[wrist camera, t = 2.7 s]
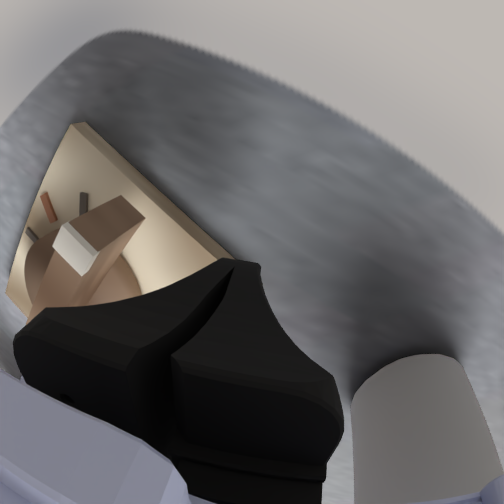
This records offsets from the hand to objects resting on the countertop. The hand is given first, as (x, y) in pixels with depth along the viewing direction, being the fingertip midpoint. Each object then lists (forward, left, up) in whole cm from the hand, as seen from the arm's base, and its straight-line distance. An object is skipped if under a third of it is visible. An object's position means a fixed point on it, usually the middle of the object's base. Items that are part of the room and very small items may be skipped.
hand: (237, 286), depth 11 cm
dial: (-7, +5, -3) cm, 9 cm away
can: (0, -13, -4) cm, 14 cm away
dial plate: (-8, +4, -4) cm, 10 cm away
